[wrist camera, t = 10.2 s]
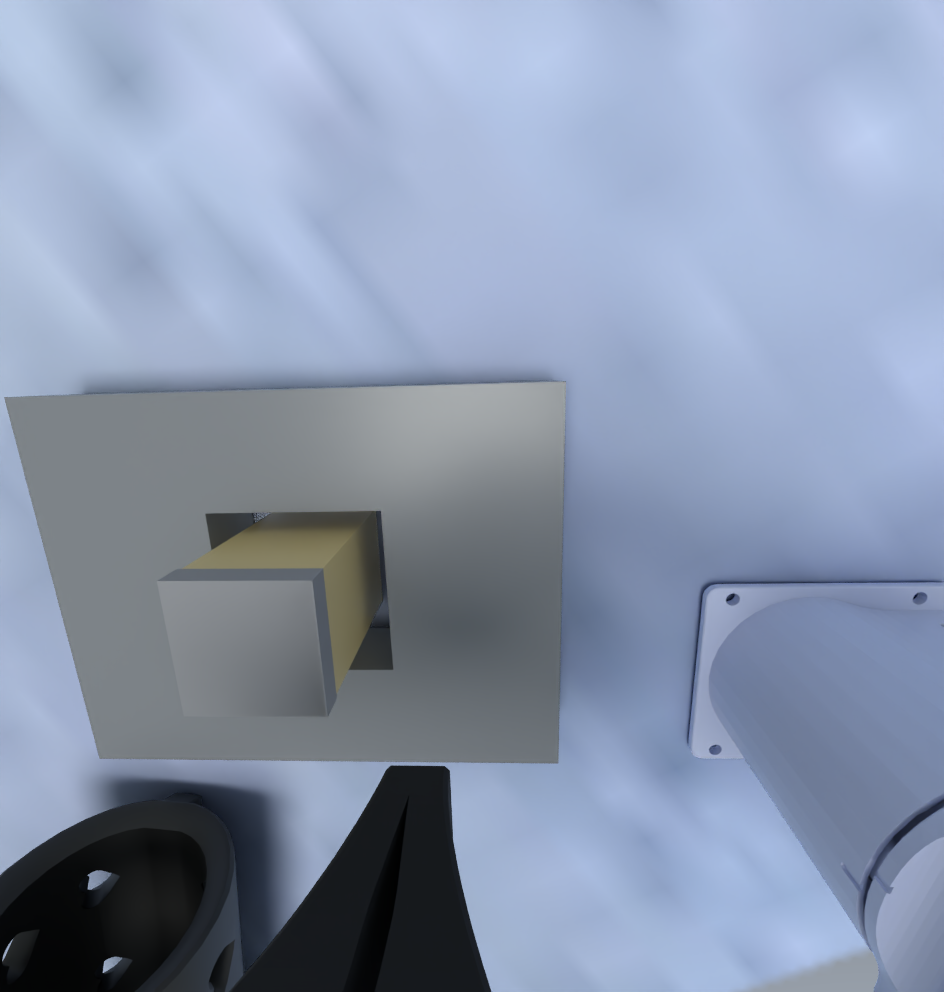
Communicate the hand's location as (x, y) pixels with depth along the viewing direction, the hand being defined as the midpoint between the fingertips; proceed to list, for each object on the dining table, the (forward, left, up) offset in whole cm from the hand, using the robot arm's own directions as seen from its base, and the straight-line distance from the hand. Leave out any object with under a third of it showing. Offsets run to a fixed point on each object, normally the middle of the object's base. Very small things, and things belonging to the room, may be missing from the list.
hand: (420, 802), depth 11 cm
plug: (+5, -2, -10) cm, 11 cm away
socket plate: (+5, -2, -9) cm, 11 cm away
